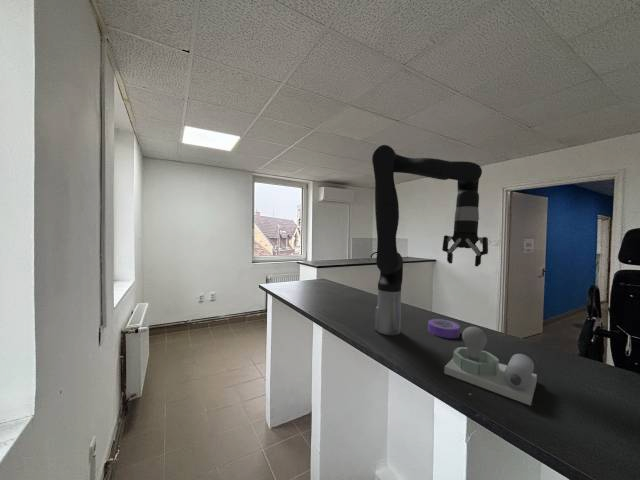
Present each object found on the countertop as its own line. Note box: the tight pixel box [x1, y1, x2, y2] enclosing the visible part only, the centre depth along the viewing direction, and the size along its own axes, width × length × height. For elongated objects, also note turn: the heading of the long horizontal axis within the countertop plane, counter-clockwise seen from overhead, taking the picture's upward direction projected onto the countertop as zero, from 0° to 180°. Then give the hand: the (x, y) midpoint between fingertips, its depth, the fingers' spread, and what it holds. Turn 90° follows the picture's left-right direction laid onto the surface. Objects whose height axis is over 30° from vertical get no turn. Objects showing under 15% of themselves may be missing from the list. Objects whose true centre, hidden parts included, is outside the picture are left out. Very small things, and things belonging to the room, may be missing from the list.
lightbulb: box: [461, 326, 488, 363], centre depth 73 cm, size 6×6×11 cm
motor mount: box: [443, 346, 538, 407], centre depth 70 cm, size 19×14×7 cm
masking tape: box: [427, 318, 461, 339], centre depth 103 cm, size 12×12×4 cm
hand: (463, 264), depth 91 cm, fingers open, 8 cm apart
